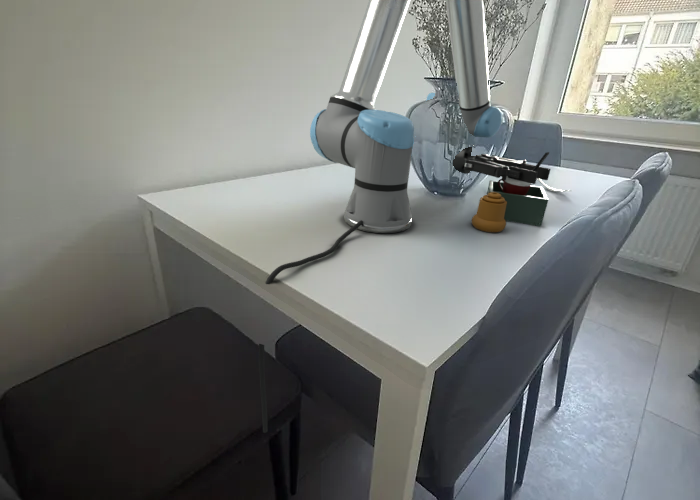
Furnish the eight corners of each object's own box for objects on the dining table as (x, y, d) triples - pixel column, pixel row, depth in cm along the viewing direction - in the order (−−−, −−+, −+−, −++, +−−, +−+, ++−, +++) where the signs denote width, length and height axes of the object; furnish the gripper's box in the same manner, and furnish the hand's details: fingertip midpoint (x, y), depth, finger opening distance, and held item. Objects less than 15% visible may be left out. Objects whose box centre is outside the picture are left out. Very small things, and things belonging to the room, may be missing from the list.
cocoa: (491, 192, 100) (502, 145, 95) (510, 191, 102) (521, 144, 97) (519, 204, 92) (532, 153, 87) (539, 202, 94) (552, 152, 89)
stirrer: (578, 183, 117) (566, 184, 115) (575, 195, 118) (563, 195, 117) (531, 171, 135) (520, 172, 133) (529, 182, 136) (518, 182, 134)
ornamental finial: (500, 236, 85) (466, 228, 88) (507, 226, 90) (475, 219, 94) (509, 201, 81) (473, 193, 85) (515, 193, 87) (482, 187, 91)
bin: (541, 226, 92) (548, 199, 89) (483, 217, 96) (489, 191, 93) (536, 211, 102) (543, 187, 100) (484, 203, 106) (489, 180, 103)
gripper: (475, 167, 114) (555, 186, 98) (435, 175, 102) (519, 198, 87) (480, 141, 111) (563, 156, 95) (439, 146, 99) (527, 164, 84)
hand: (542, 176), depth 91 cm, fingers closed on cocoa, 6 cm apart
